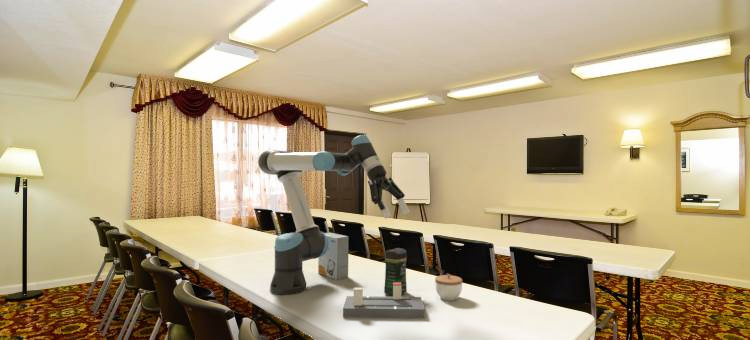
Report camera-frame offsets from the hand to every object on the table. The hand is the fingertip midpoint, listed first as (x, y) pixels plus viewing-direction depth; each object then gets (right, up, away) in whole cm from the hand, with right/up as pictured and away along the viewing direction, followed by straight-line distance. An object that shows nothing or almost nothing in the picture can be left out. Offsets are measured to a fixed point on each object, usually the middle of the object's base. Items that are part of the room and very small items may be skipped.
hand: (398, 215), depth 142 cm
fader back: (-1, -30, -7) cm, 31 cm away
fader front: (-15, -30, -14) cm, 36 cm away
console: (-6, -33, -11) cm, 35 cm away
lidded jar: (+20, -34, +4) cm, 40 cm away
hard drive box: (-30, -34, +37) cm, 59 cm away
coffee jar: (0, -34, +9) cm, 35 cm away
